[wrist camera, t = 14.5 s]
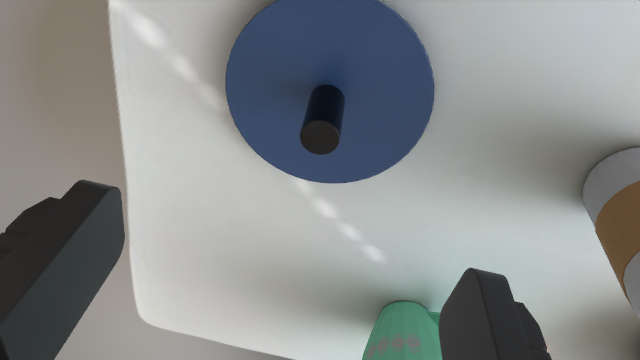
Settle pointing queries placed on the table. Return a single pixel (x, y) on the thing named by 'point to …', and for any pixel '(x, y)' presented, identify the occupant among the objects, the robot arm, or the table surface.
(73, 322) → the robot arm
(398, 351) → the mug
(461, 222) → the table surface
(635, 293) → the coffee cup
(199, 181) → the table surface
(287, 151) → the tin lid
